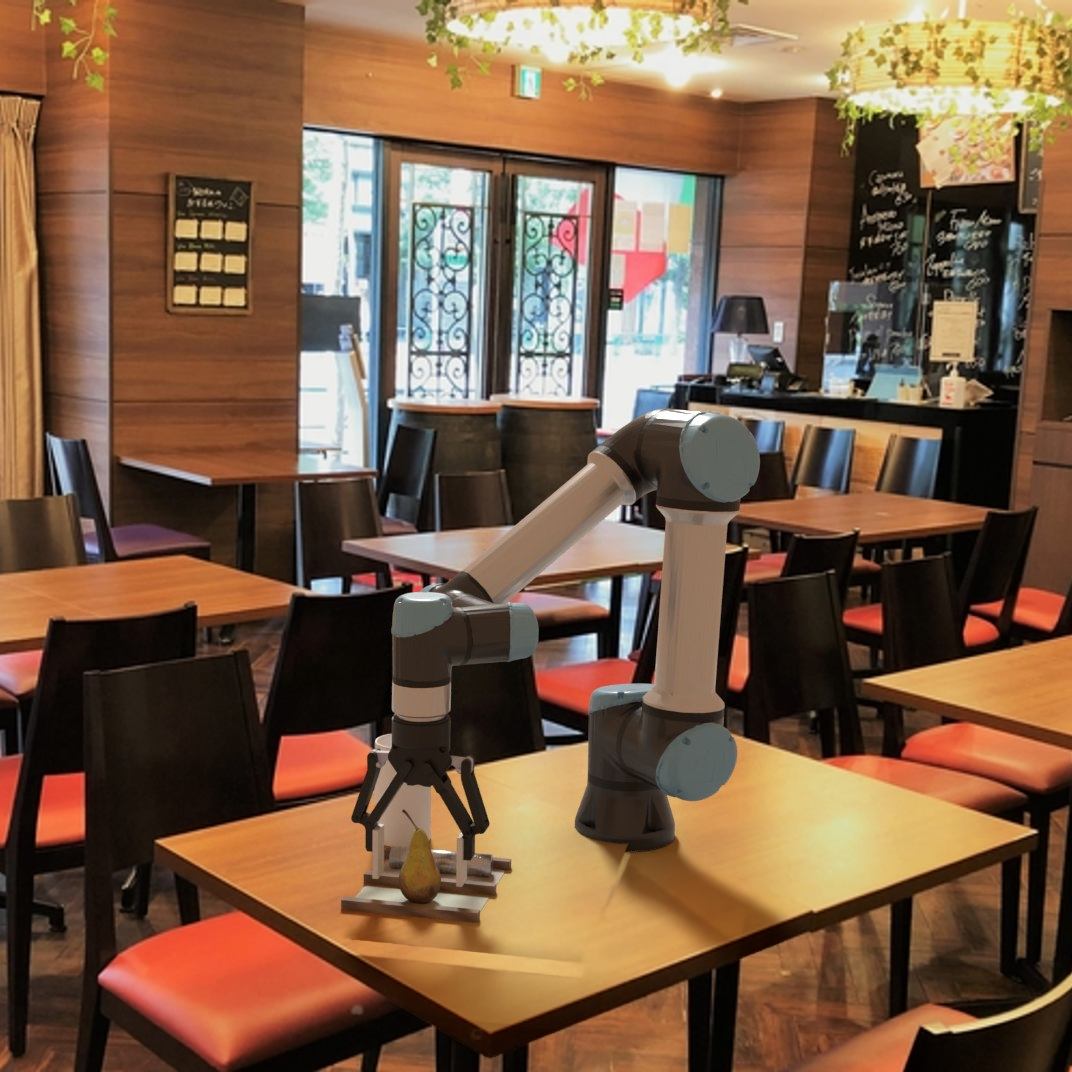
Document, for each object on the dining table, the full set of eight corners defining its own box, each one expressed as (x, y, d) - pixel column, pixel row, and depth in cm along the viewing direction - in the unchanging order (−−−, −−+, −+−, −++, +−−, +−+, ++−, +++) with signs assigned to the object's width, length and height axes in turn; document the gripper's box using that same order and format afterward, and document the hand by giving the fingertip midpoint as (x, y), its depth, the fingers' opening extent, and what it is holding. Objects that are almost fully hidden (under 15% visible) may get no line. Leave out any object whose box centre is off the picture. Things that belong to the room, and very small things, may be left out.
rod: (491, 879, 205) (494, 858, 207) (487, 873, 203) (490, 851, 204) (392, 870, 208) (396, 849, 209) (387, 863, 205) (391, 842, 207)
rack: (510, 876, 209) (511, 858, 208) (477, 932, 189) (477, 913, 189) (386, 865, 212) (386, 847, 212) (341, 919, 193) (341, 899, 192)
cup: (421, 858, 215) (422, 750, 213) (367, 853, 217) (367, 745, 214) (436, 839, 223) (438, 735, 221) (384, 834, 225) (384, 731, 222)
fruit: (407, 912, 192) (407, 822, 190) (392, 896, 197) (392, 808, 195) (447, 906, 194) (448, 816, 192) (432, 891, 199) (433, 803, 197)
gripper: (515, 712, 194) (512, 876, 197) (344, 700, 198) (344, 861, 201) (502, 727, 186) (499, 897, 189) (325, 714, 191) (325, 881, 194)
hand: (419, 879), depth 195 cm, fingers open, 10 cm apart
